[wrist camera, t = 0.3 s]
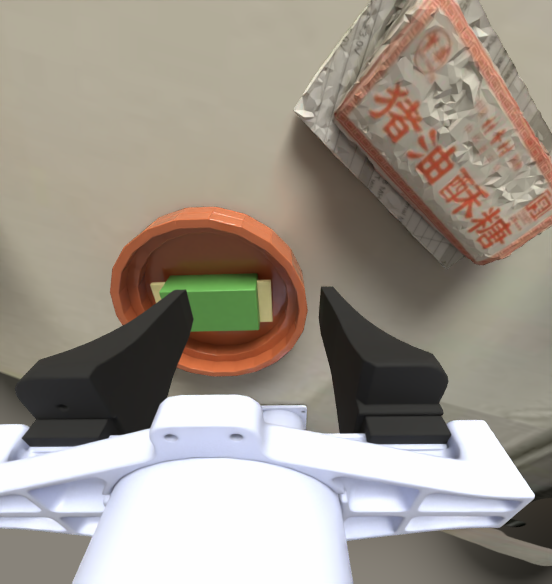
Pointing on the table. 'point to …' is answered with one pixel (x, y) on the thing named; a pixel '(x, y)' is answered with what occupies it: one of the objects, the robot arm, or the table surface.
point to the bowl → (215, 260)
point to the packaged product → (437, 127)
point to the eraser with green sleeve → (222, 300)
